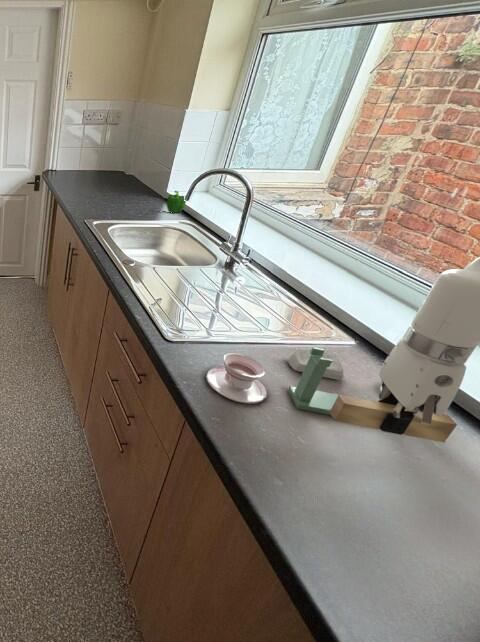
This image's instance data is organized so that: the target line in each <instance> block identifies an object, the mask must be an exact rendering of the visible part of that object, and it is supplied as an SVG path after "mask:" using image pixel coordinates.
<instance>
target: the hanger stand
mask: <svg viewBox="0 0 480 642" xmlns="http://www.w3.org/2000/svg"><path fill="white" fill-rule="evenodd" d="M324 351H325V352H326V350H325V349H324V348H321V347H311V352H310V354H311V356H310V358H309V361H308V363H307V365H306V367H305V369H304V372H302V374H301V376H300V378H299V380H298V383H297V385H296V386H292V385H289V387H288V389H287V391H288V393H289V395H290V397H291V399H292V401H293V402H294V405H295V407H296V409H297V410H302V411H309V412H314V413H318V414H324V415H329V416H332V415H331V413H330V410H331V408H332V406H333V405H334V403H335V401H336V399H337V397H338V395H339V394H337V393H331V392H326V391H322V390H321V391H320V390H317V389H318V387H319V385H320V383H321V381H322V378H324V377H323V375H324V372H325V370H326V368H327V367H330V365H331V363H332V360H331V359H325V358H322V357H320V356H322V355H323V353H324ZM314 355H316V356H314ZM376 402H378V401H377V400H376Z"/></svg>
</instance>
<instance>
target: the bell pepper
mask: <svg viewBox="0 0 480 642" xmlns="http://www.w3.org/2000/svg"><path fill="white" fill-rule="evenodd" d="M184 197H185V198H186V196H185V195H180V193H179V191H178V190H174V194H169V195H168V197H167V200H166V209H167V211H168V212H169V213H172V214H177V213H181V212H182V211H183V209H184V207H185V205H186V203H187V200H186V201H184Z"/></svg>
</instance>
